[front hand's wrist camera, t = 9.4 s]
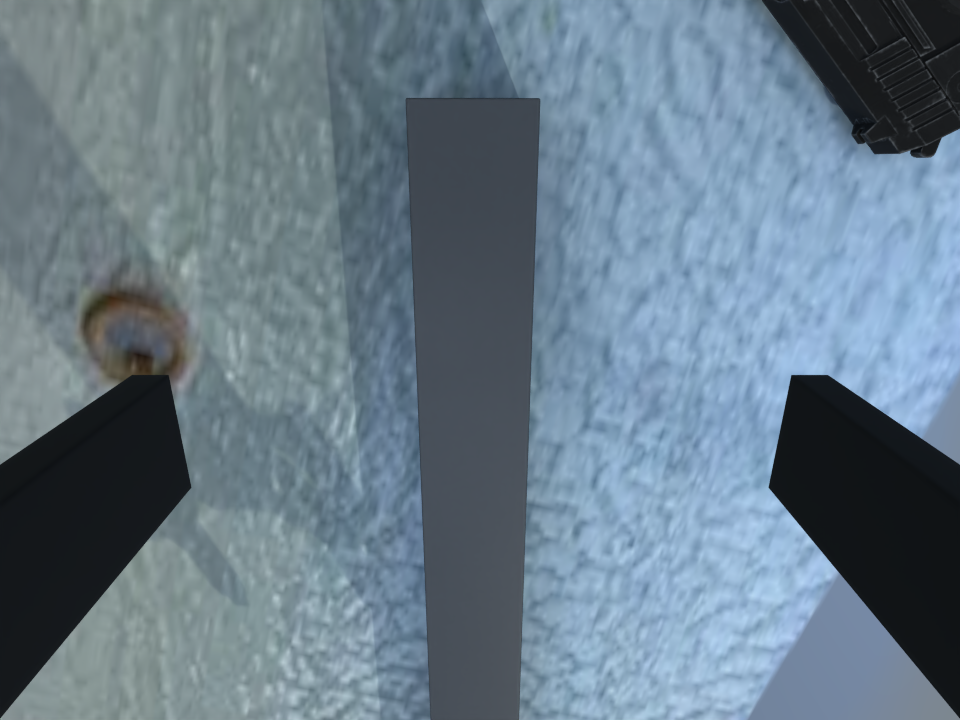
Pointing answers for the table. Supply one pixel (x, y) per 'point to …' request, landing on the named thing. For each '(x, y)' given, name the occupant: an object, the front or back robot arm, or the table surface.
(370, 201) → the table surface
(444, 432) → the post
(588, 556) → the table surface
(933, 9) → the handgun
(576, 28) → the table surface
